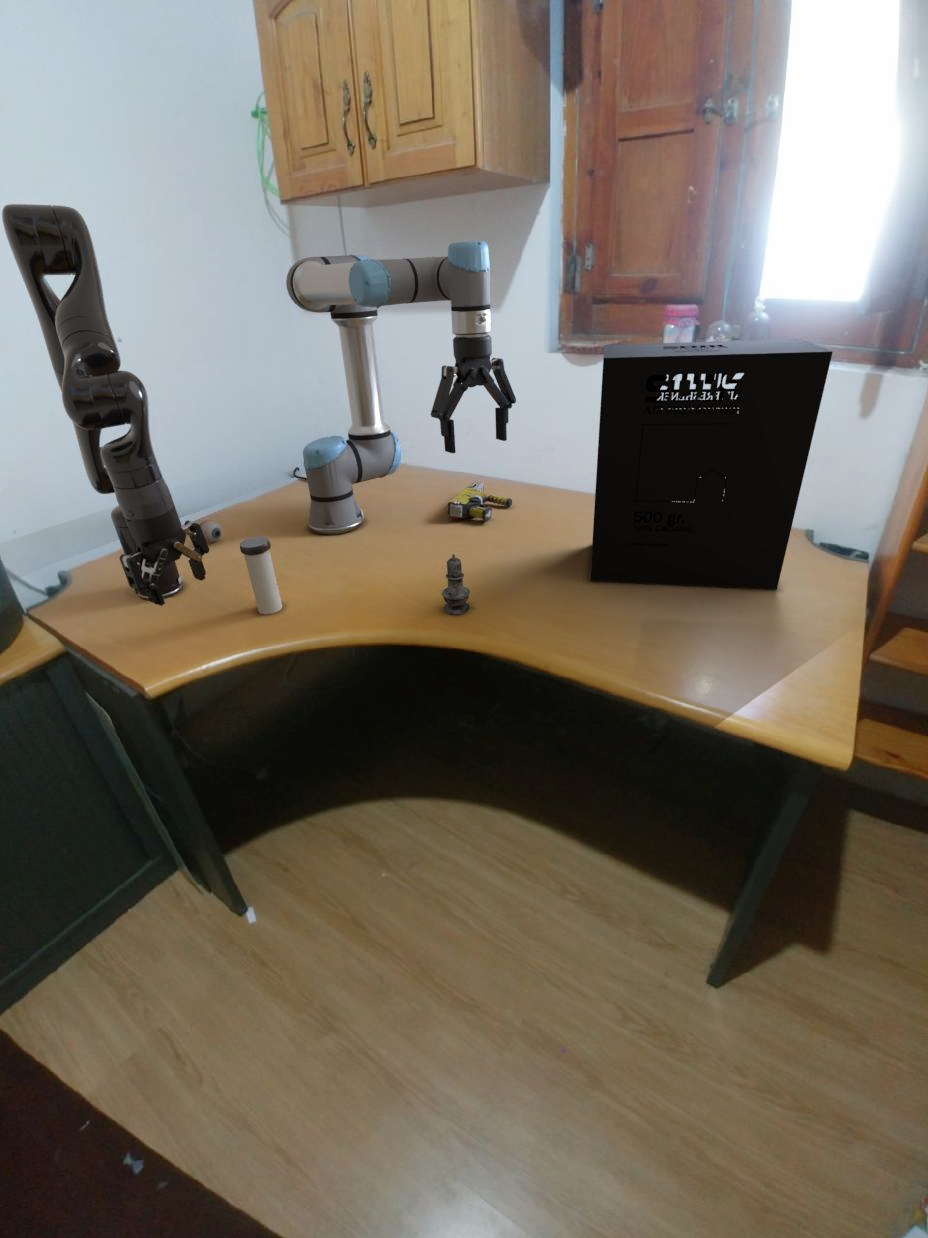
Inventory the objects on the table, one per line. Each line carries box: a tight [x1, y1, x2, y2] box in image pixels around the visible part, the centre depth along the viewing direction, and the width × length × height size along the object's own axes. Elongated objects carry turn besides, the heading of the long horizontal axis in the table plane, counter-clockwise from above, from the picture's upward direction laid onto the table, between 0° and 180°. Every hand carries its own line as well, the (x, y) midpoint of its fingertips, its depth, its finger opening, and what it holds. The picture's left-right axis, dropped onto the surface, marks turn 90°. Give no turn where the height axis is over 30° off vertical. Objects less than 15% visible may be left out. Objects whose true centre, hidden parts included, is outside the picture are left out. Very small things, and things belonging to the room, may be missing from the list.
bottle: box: [243, 549, 283, 615], centre depth 125 cm, size 5×5×15 cm
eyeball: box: [199, 519, 223, 544], centre depth 161 cm, size 6×6×6 cm
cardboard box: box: [589, 338, 834, 590], centre depth 125 cm, size 38×20×45 cm, turn 78°
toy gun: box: [446, 480, 513, 523], centre depth 174 cm, size 5×24×15 cm
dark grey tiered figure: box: [441, 553, 471, 615], centre depth 121 cm, size 6×6×12 cm
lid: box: [239, 536, 272, 555], centre depth 121 cm, size 6×6×2 cm
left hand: (180, 590), depth 105 cm, fingers open, 8 cm apart
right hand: (476, 445), depth 127 cm, fingers open, 13 cm apart
